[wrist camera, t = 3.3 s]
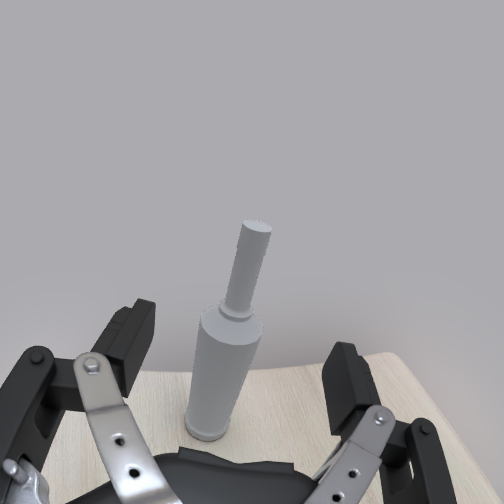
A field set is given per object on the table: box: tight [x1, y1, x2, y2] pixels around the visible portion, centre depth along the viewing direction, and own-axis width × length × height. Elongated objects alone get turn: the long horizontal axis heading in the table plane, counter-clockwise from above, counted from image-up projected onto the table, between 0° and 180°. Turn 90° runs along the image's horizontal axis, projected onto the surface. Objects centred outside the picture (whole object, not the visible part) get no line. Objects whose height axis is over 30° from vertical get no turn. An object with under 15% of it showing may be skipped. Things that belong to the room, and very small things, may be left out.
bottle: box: [185, 220, 272, 441], centre depth 26 cm, size 5×5×25 cm
